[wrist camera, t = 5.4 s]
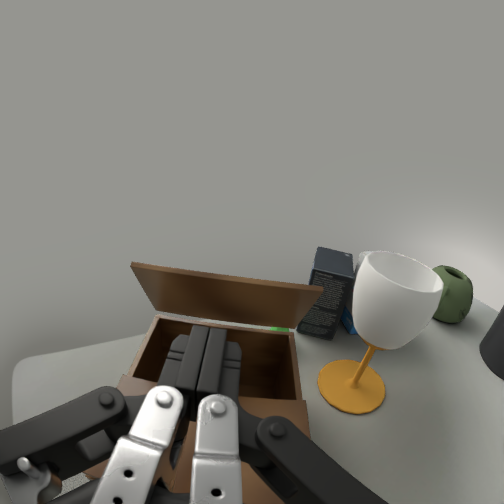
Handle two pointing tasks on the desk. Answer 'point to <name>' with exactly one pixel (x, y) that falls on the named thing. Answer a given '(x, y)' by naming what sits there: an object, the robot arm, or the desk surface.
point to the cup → (381, 325)
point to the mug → (453, 295)
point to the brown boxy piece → (250, 393)
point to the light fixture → (494, 346)
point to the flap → (226, 296)
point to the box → (328, 292)
